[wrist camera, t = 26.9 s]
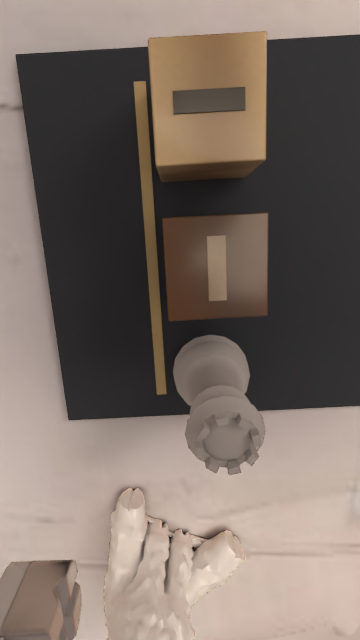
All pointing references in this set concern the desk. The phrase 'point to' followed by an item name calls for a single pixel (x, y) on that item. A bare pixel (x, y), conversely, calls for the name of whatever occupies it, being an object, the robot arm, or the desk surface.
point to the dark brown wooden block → (216, 266)
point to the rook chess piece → (218, 403)
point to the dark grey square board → (196, 200)
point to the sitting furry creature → (159, 573)
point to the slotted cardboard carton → (208, 105)
